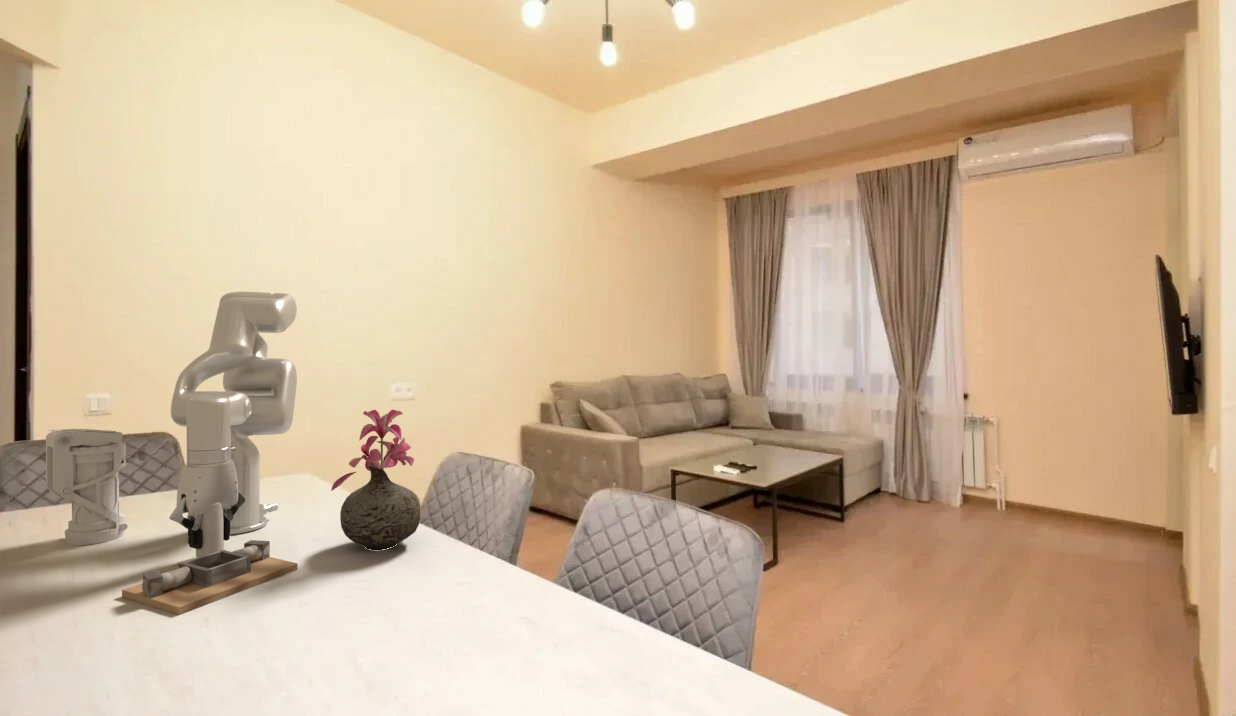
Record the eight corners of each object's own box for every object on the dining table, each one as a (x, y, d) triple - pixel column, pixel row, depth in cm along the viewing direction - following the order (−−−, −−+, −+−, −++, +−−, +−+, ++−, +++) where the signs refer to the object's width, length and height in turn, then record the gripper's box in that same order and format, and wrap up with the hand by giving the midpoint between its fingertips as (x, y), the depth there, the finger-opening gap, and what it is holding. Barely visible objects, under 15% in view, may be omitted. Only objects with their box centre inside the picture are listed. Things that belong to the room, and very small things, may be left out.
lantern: (114, 528, 142) (114, 422, 142) (134, 536, 137) (133, 426, 136) (41, 543, 131) (41, 428, 131) (59, 552, 126) (59, 433, 125)
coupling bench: (244, 556, 126) (244, 535, 125) (298, 569, 119) (298, 547, 119) (121, 596, 105) (121, 571, 105) (178, 614, 99) (178, 588, 99)
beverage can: (209, 562, 122) (209, 503, 121) (189, 559, 123) (189, 501, 122) (229, 553, 126) (229, 497, 126) (209, 551, 127) (209, 495, 127)
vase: (434, 546, 134) (435, 412, 133) (355, 566, 121) (356, 418, 120) (397, 529, 145) (398, 405, 144) (322, 546, 132) (323, 410, 132)
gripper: (237, 447, 133) (237, 528, 134) (152, 462, 117) (153, 554, 118) (260, 451, 130) (260, 534, 131) (176, 466, 114) (177, 560, 115)
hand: (209, 542), depth 124 cm, fingers closed on beverage can, 4 cm apart
